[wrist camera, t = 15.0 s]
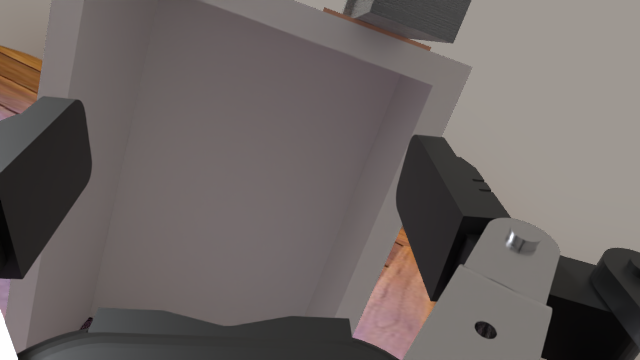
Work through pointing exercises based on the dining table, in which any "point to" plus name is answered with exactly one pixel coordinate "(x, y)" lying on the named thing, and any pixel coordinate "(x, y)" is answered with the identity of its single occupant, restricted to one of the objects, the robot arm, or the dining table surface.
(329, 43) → the tall cream box
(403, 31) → the grey rectangular bar
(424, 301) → the dining table surface
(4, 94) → the dining table surface
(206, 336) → the robot arm
